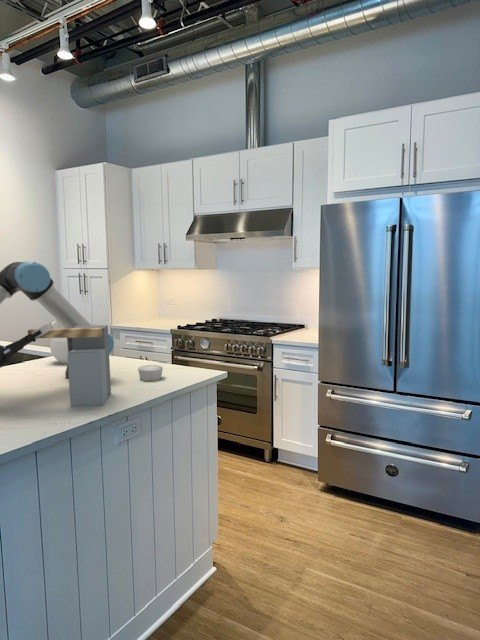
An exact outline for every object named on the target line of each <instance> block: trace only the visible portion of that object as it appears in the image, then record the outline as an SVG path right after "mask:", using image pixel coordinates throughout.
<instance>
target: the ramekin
mask: <svg viewBox="0 0 480 640" xmlns="http://www.w3.org/2000/svg"><path fill="white" fill-rule="evenodd" d="M163 369H164V368H163V366H162V365H159V364H148V365H142V366H139V367H138V368H137V371H138V375H139V378H140V380H141V381H144V382H154V381H155V382H156V381H158V380H161V378H162V375H163Z"/></svg>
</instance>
